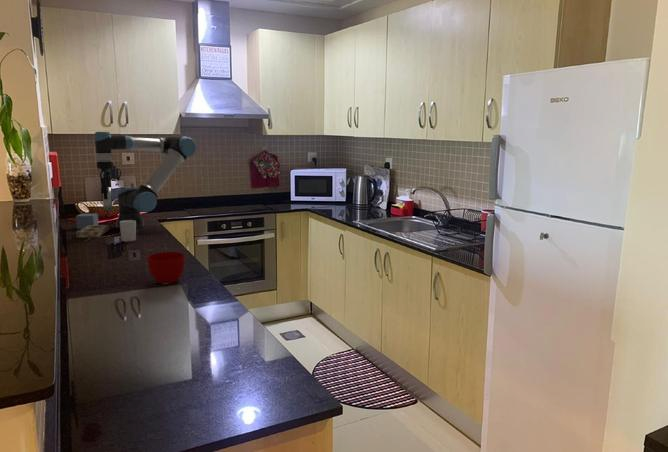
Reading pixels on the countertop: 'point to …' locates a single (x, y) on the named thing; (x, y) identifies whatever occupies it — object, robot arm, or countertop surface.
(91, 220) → the slate blue cube
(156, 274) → the ceramic cup
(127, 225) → the white cup
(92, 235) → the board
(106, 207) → the peg
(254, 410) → the countertop surface
